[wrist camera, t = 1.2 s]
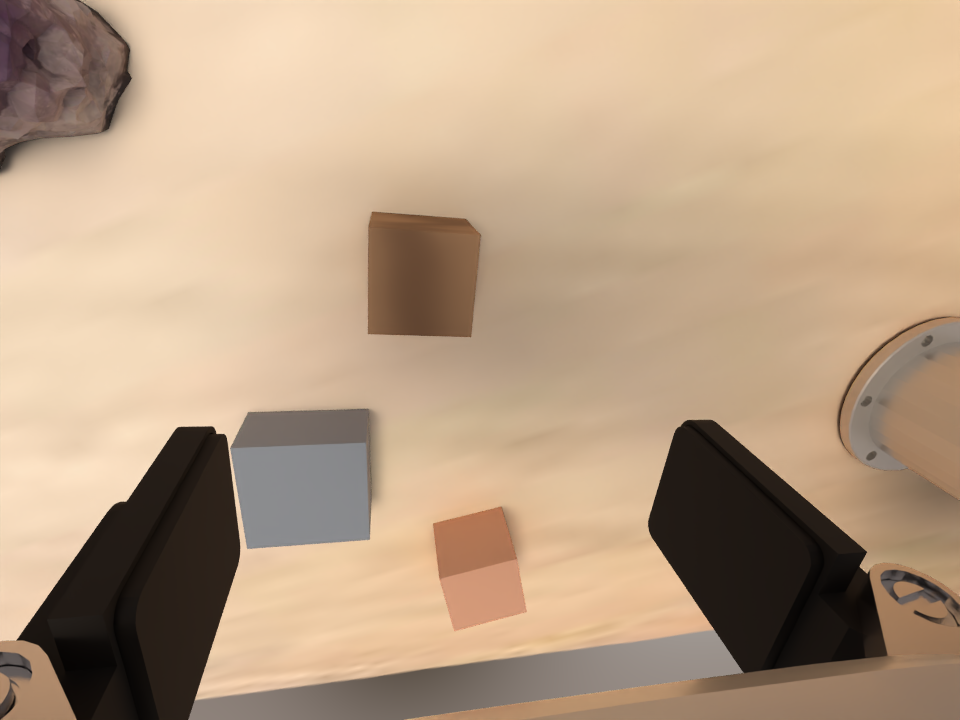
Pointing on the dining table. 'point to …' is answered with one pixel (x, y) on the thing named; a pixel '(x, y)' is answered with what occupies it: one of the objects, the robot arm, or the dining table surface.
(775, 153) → the dining table surface
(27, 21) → the geode
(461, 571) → the terracotta cube
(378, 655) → the dining table surface
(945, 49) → the dining table surface
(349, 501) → the blue-grey square box
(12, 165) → the dining table surface
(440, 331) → the walnut cube
